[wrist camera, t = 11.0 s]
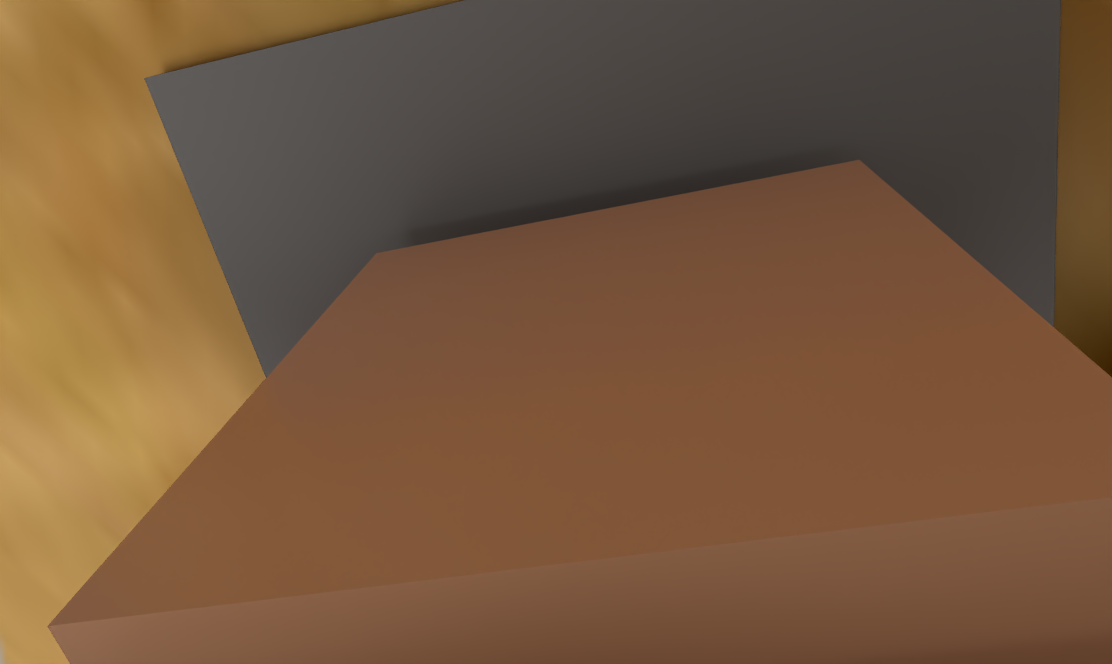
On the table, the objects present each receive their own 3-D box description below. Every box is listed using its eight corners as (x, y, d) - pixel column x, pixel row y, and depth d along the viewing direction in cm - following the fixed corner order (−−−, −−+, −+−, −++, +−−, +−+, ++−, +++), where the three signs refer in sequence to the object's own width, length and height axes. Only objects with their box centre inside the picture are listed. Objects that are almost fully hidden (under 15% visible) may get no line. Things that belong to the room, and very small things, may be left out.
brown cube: (859, 159, 12) (1234, 483, 4) (889, 565, 15) (1147, 1166, 7) (376, 253, 13) (47, 626, 6) (492, 610, 16) (372, 1162, 8)
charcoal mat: (1043, -141, 12) (1064, -146, 11) (1033, 611, 17) (1047, 632, 16) (163, 73, 14) (144, 78, 13) (402, 676, 19) (395, 696, 19)
